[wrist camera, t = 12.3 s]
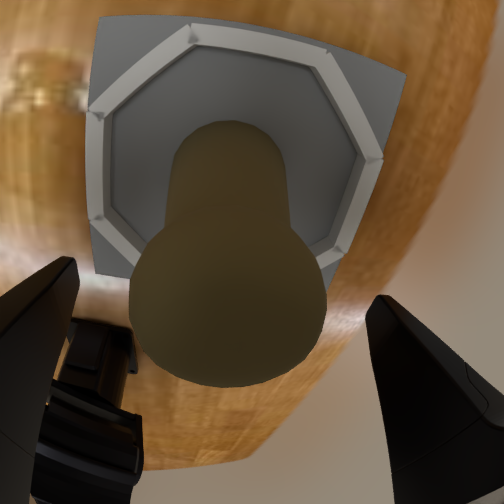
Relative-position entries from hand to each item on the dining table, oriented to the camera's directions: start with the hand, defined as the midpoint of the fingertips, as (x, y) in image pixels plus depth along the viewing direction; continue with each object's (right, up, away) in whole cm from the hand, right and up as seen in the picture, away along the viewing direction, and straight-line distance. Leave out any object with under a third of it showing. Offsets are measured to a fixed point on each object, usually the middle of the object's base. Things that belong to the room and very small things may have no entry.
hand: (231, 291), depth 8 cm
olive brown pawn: (-1, +5, +7) cm, 9 cm away
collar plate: (-1, +5, +8) cm, 9 cm away
